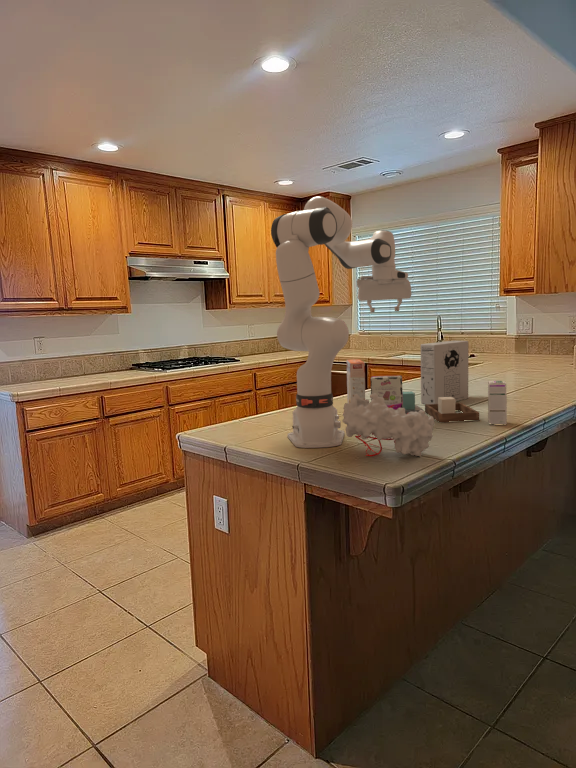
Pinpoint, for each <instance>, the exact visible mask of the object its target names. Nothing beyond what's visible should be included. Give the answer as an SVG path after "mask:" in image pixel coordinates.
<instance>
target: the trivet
mask: <svg viewBox="0 0 576 768" xmlns="http://www.w3.org/2000/svg"><path fill="white" fill-rule="evenodd" d="M420 410H423V411H425V409H423V408H422V407H420V406H419V405H417V404H415V409H406V410H405V414H407V413H409V412H415V411H416V412H419V411H420Z"/></svg>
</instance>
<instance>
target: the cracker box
mask: <svg viewBox="0 0 576 768" xmlns="http://www.w3.org/2000/svg"><path fill="white" fill-rule="evenodd" d="M365 366H366V363H365V362H364V361H363V360H362V359H359V358H358V359H357V358H355V359H346V387H347V388H346V389H347V391H346V392H347V397H346V398H347V402H346V403H348V404H350V403H351V399H352V397H354V395H355V394H358V396H359V397H361V398H363V399H364V400H366V371H365V369H366V367H365Z"/></svg>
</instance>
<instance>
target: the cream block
mask: <svg viewBox="0 0 576 768" xmlns="http://www.w3.org/2000/svg"><path fill="white" fill-rule="evenodd" d="M455 403H456V401H455V399H454V398H453V397H438V412H440V413H441V414H444V413H456V411H455Z"/></svg>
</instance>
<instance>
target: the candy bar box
mask: <svg viewBox="0 0 576 768" xmlns="http://www.w3.org/2000/svg"><path fill="white" fill-rule="evenodd" d="M403 392H404V391H403V376H402V375H378V376H377V375H375V376H374V375H373V376H371V377H370V395H371V394H374V393H376V394H377V395H378V397H383V398H384V403H385V405H386V406H387V407H389V406H392V405H394V406H393V407H392V408H393V409H394V410H397V409H398V408H403ZM371 401H372V398H370V402H371ZM390 408H391V407H390Z"/></svg>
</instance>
